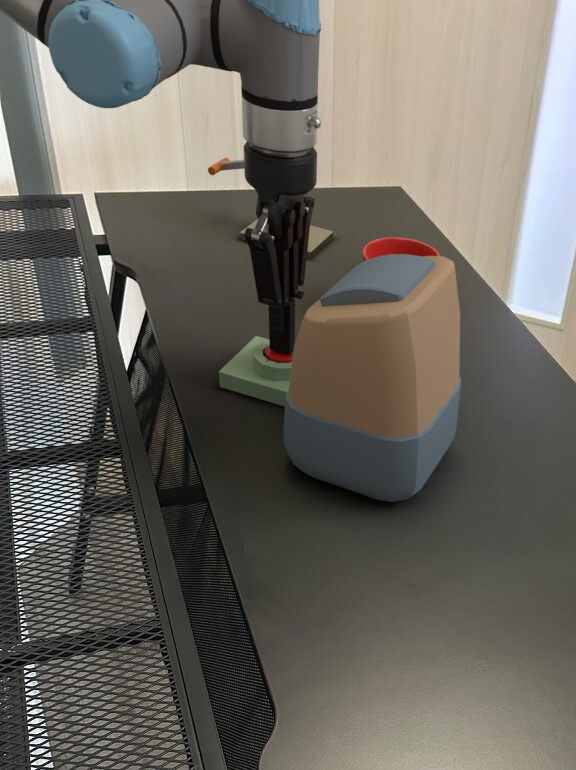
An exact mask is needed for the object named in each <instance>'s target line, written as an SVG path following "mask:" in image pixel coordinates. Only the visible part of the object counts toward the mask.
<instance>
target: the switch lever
mask: <svg viewBox="0 0 576 770" xmlns="http://www.w3.org/2000/svg"><path fill="white" fill-rule="evenodd" d="M242 169H243V170H244V159H236V160H230V158H228V157H224V158H222V159H220V160H219V161H217V162H216V163H214V164H212V165H210V166H209V167H208V168H207V172H208V174H209V175H210V176H215V175H216V174H218V173H219V172H221V171H231V170H242Z"/></svg>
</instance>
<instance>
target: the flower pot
mask: <svg viewBox="0 0 576 770" xmlns="http://www.w3.org/2000/svg"><path fill="white" fill-rule="evenodd" d="M361 254H362V262H364V261H366V260H369V259H372V258H375V257H379V256H384V255H390V254H407V255H415V256H421V257H424V256H441V254H440V253H439V251H438V250H437V249H436V248H434V247H433V246H431V245H429V244H427V243H425V242H422V241H419V240H416V239H411V238H407V237H394V236H393V237H382V238H377V239H374V240H371V241H369V242H368V243H367V244H366V245H364V247H363V249H362V253H361Z"/></svg>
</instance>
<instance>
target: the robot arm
mask: <svg viewBox="0 0 576 770" xmlns="http://www.w3.org/2000/svg"><path fill="white" fill-rule="evenodd" d="M0 13H1V14H3V15H4V16H5V17H7V18H8V19H9V20H11V21H12V22H13V23H15V24H16V25H18V26H19V27H20V28H21V29H23V30H24V31H25V32H27V33H28V34H29V35H31V36H32V37H34V38H35V39H36V40H38V41H39V42H40V43H41V44H43V45H44V46H45V47H46V48H48V51H49V55H50V59H51V62H52V65H53V67H54V69H55V71H56V73H58V75H59V76H60V78H61V80H62V82H64V84H65V85H66V88H67V89H68V90H69V91H70V92H71V93H72V94H73V95H75V96H76V97H77V98H78V99H80V100H81V101H82V102H84V103H87V105H88V104H89V105H91V106H94V107H97V108H100V109H117V108H120V107H123V106H126V105H128V104H130V103H132V102H137V101H139V100H142V99H143V98H145V97H147V96H148V95H150V93H151V92H152V90H153V89H155V87H157V86H159V85H160V84H161V83H162V82H164V81H165V80H167V79H169V78H171V77H173V76H175V75H177V74H178V73H180V72H181V71H182V70H184V69H185V68H187V67H189V66H190V65H193V66H194V65H195V66H200V67H206V68H210V69H216V70H221V71H225V72H230V73H231V72H236V73H239V75H240V82H241V83H240V86H241V87H240V88H241V89H240V90H241V118H242V120H241V121H242V137H243V139H244V140H245V141H246V142H245V143H244V144H243V160H244V169H243V171H244V179H245V182H246V183H247V184H248V185H249V186H250V187H252V188H253V189H254V190H255V192H256V194H257V201H256V205H255V215H256V218H257V219H258V221H257V223H256V226H255V228H254V229H252V228H246V227H245V228H246V230H245V239H246V241H245V242H246V243H247V246H248V248H249V253H250V259H251V264H252V265H251V266H252V271H253V276H254V283H255V289H256V295H257V301H258V303H259V304H262V305H266V306H268V337H269V338H268V339H269V345H270V350H274V351H277V352H281V353H284V354H287V355H291V353H292V352H293V351H294V345H295V342H296V299H298V300H302V299H303V298H304V295H305V291H301V290H299V287H303V286H304V285H305V278H306V268H307V259H308V258H307V250H308V241H309V232H310V225H311V221H312V217H313V212H314V208H315V201H316V200H315V197H313V196H309V195H307V196H306V195H305V193H307V194H308V193H310V192H311V191H312V190H314V189H315V187H316V184H317V181H318V180H317V178H318V177H317V176H318V175H317V174H318V151H317V150H316V148H315V146H316V145H317V143H318V129H320V127H321V126H322V121H321V118H319V117H318V108H319V107H318V106H319V105H318V104H319V103H318V102H319V101H318V100H319V99H318V98H319V92H318V91H319V67H320V66H319V65H320V41H321V40H320V38H321V31H322V24H321V20H320V0H0Z"/></svg>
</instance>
